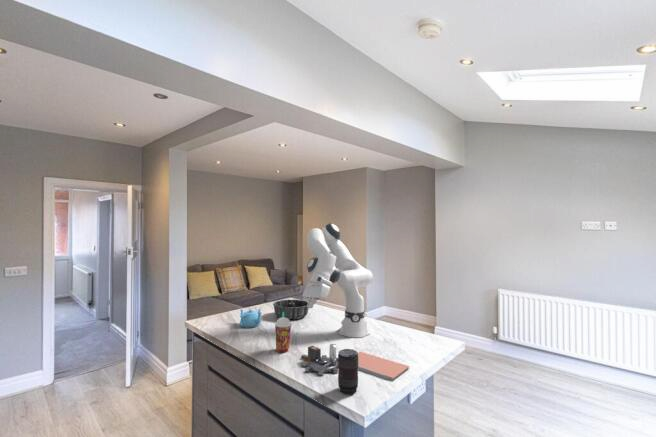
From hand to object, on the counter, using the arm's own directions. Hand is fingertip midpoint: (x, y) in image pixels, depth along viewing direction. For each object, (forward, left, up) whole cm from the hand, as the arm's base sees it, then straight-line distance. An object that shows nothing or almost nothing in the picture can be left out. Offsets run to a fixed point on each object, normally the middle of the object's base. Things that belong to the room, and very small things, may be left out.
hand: (309, 307), depth 158 cm
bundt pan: (-77, -16, -26) cm, 83 cm away
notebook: (+6, +31, -26) cm, 41 cm away
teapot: (-56, -40, -26) cm, 73 cm away
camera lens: (+29, +17, -26) cm, 42 cm away
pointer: (-1, -2, -25) cm, 25 cm away
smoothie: (-12, -14, -26) cm, 31 cm away
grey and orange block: (+2, +3, -24) cm, 24 cm away
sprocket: (+7, +7, -25) cm, 27 cm away
